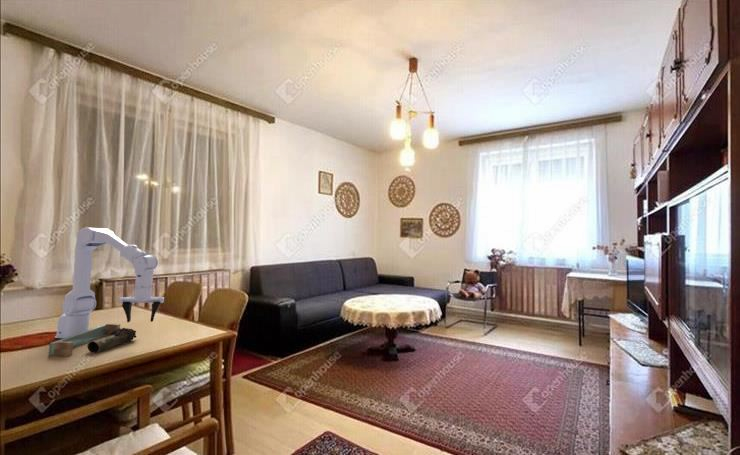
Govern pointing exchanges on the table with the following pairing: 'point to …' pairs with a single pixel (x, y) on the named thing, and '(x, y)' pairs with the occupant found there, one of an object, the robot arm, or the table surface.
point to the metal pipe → (112, 340)
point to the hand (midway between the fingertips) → (140, 321)
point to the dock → (80, 339)
